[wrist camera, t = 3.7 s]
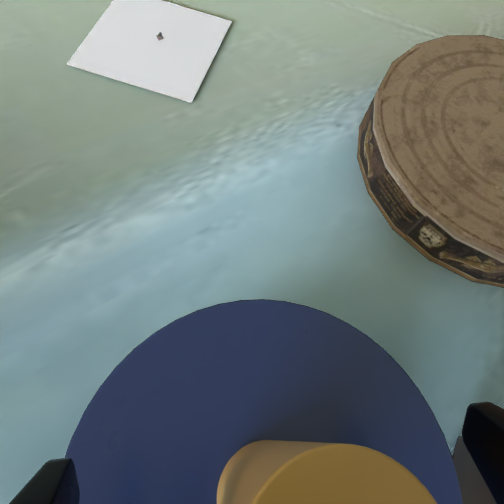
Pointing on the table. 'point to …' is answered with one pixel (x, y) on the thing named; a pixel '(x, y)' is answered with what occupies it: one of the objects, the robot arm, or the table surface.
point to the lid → (261, 417)
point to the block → (470, 477)
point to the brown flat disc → (442, 153)
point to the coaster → (152, 46)
